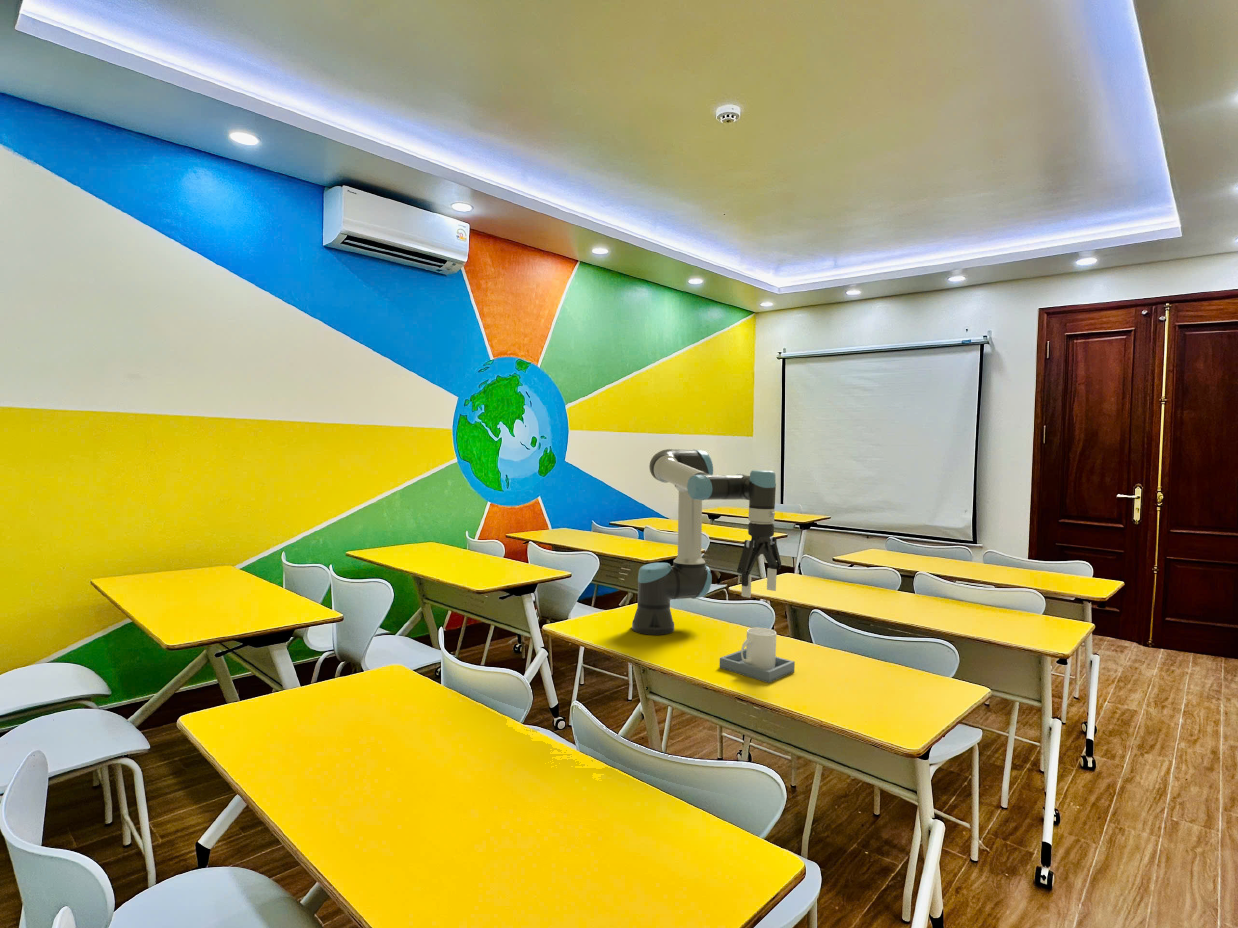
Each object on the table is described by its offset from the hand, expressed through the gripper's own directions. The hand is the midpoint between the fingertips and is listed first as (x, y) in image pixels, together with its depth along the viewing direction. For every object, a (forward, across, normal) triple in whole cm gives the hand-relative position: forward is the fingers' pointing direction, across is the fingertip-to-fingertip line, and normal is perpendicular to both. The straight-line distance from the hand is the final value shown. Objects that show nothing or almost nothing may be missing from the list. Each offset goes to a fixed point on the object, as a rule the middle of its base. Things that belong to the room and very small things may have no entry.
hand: (758, 593), depth 199 cm
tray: (+23, -1, 0) cm, 23 cm away
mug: (+22, -1, 0) cm, 22 cm away
